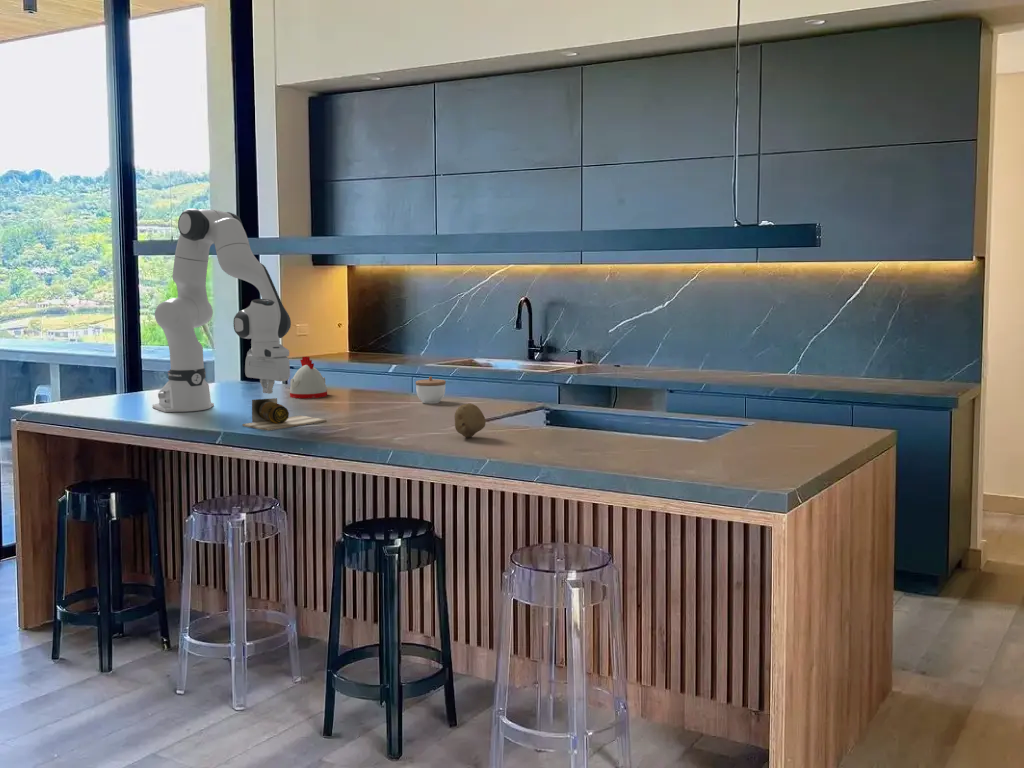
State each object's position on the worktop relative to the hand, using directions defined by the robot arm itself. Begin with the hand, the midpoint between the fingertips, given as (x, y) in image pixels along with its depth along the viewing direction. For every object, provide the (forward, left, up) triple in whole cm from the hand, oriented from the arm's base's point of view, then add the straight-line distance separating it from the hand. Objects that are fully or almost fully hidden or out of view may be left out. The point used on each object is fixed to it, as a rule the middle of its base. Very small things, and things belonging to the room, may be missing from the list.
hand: (267, 393), depth 335 cm
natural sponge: (+71, +21, -10) cm, 75 cm away
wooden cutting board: (+7, +1, -9) cm, 12 cm away
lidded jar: (+9, +62, -10) cm, 63 cm away
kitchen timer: (-41, +45, -10) cm, 61 cm away
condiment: (-1, -1, -6) cm, 6 cm away
